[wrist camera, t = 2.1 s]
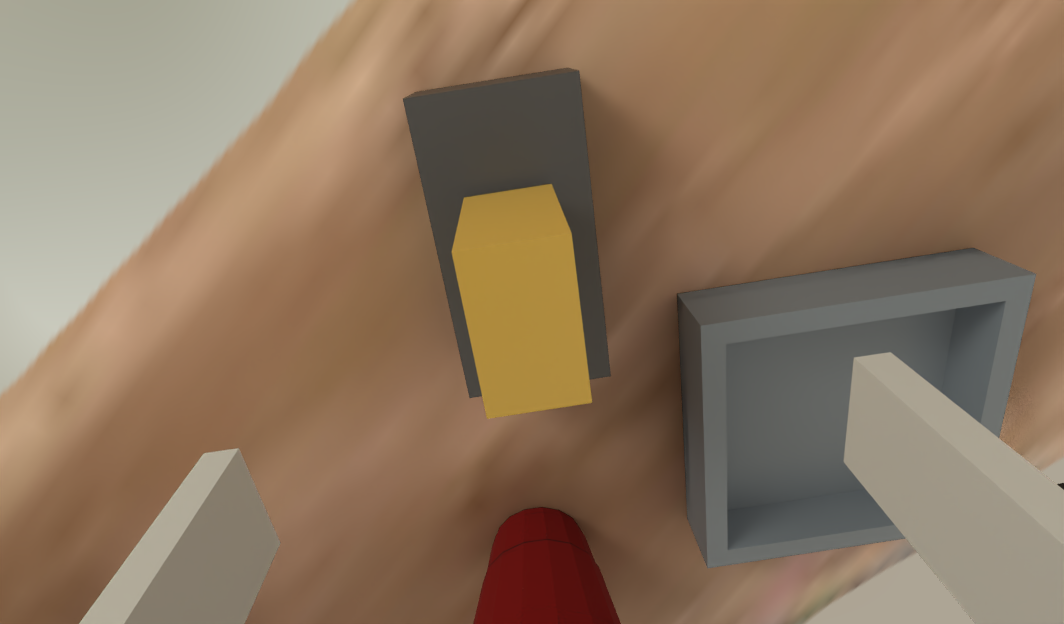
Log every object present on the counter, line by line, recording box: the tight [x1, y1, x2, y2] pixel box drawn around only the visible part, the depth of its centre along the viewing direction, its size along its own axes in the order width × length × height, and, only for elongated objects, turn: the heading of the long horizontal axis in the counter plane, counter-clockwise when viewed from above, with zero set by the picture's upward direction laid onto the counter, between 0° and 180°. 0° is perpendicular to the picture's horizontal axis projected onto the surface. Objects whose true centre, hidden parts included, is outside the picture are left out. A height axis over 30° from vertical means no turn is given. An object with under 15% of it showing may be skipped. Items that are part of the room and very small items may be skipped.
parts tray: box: [677, 248, 1036, 568], centre depth 33 cm, size 16×16×4 cm
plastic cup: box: [473, 507, 621, 624], centre depth 33 cm, size 11×11×12 cm
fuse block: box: [403, 68, 611, 398], centre depth 28 cm, size 7×14×4 cm, turn 8°
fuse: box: [452, 184, 592, 419], centre depth 24 cm, size 4×6×12 cm, turn 8°
